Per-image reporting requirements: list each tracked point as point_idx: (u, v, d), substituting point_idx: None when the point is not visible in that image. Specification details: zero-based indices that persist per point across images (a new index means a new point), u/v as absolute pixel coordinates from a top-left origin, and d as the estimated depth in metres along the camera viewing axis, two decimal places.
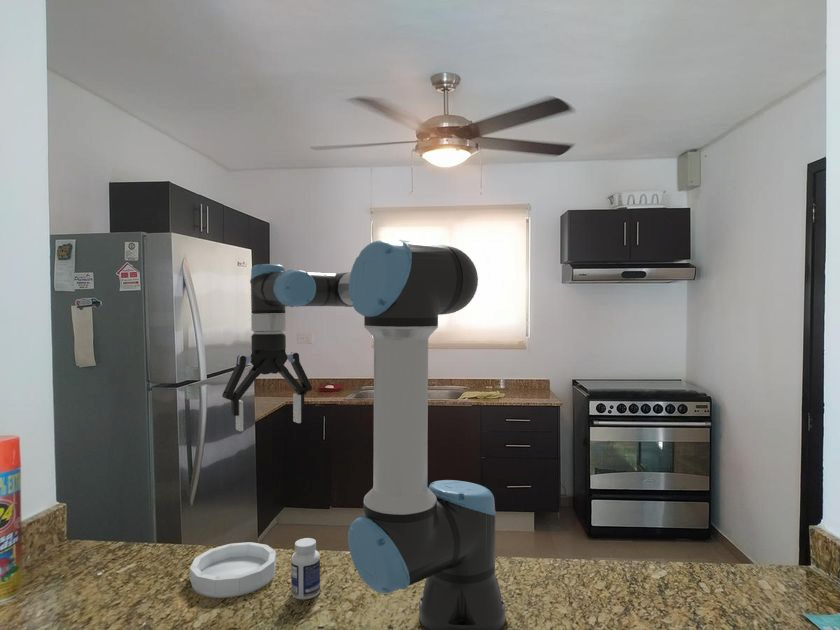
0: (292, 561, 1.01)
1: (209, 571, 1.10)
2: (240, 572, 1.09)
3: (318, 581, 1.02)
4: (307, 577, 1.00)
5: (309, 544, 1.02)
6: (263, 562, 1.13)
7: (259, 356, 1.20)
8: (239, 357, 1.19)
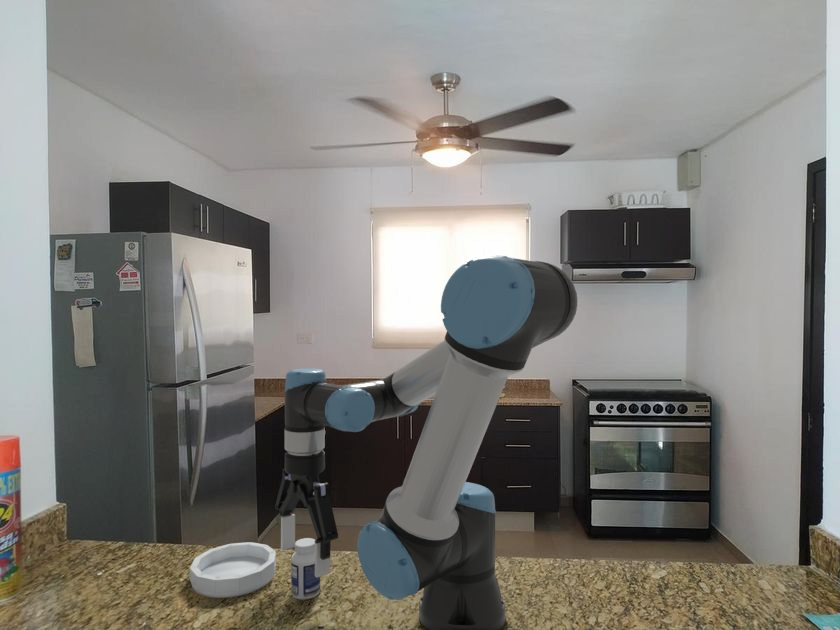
0: (292, 561, 1.01)
1: (209, 571, 1.10)
2: (240, 572, 1.09)
3: (318, 581, 1.02)
4: (307, 577, 1.00)
5: (309, 544, 1.02)
6: (263, 562, 1.13)
7: (293, 475, 1.04)
8: None
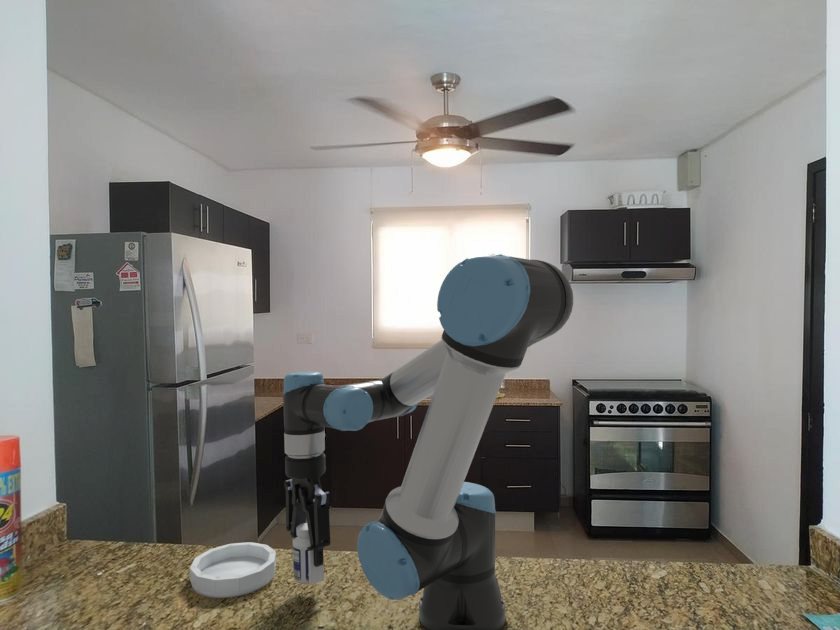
0: (294, 545, 1.01)
1: (209, 571, 1.10)
2: (240, 572, 1.09)
3: None
4: None
5: None
6: (263, 562, 1.13)
7: None
8: None
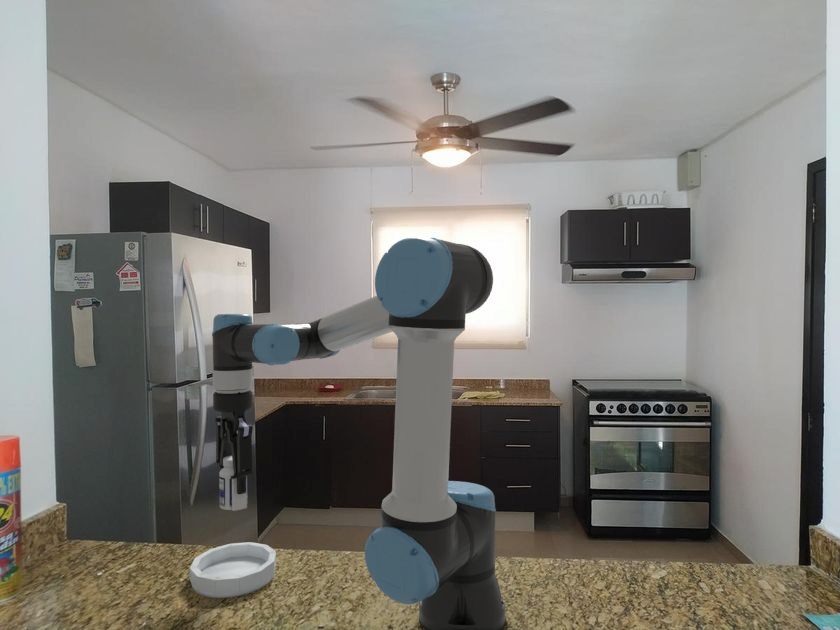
0: (220, 474, 1.08)
1: (209, 571, 1.10)
2: (240, 572, 1.09)
3: None
4: None
5: None
6: (263, 562, 1.13)
7: (222, 413, 1.10)
8: None
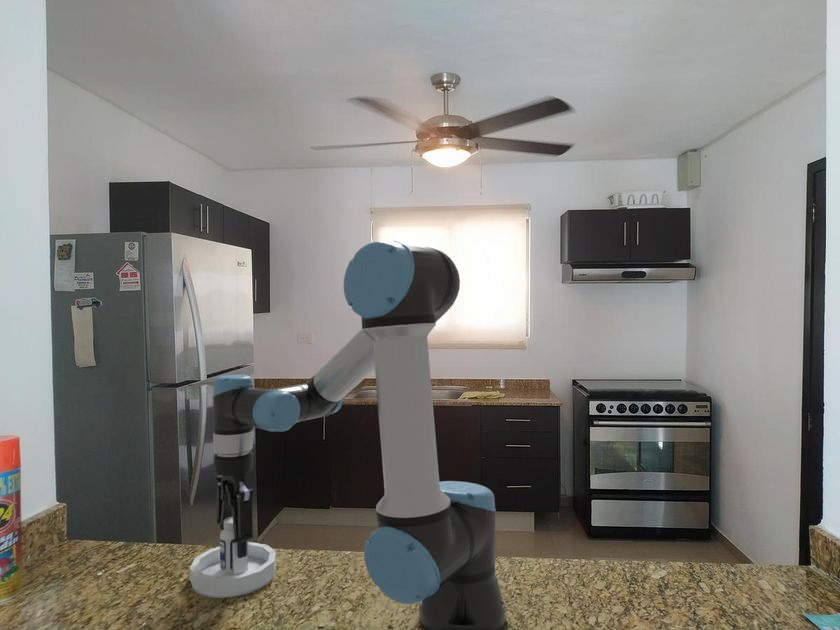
0: (220, 537, 1.08)
1: (209, 571, 1.10)
2: None
3: None
4: None
5: None
6: (263, 562, 1.13)
7: None
8: None
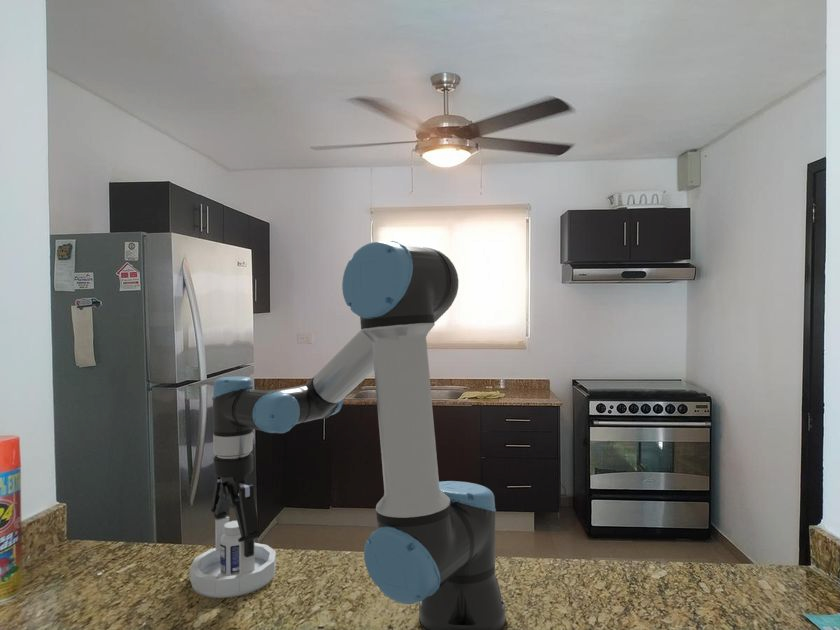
0: (220, 542, 1.08)
1: (209, 571, 1.10)
2: None
3: None
4: (234, 556, 1.07)
5: (236, 526, 1.08)
6: (263, 562, 1.13)
7: None
8: None
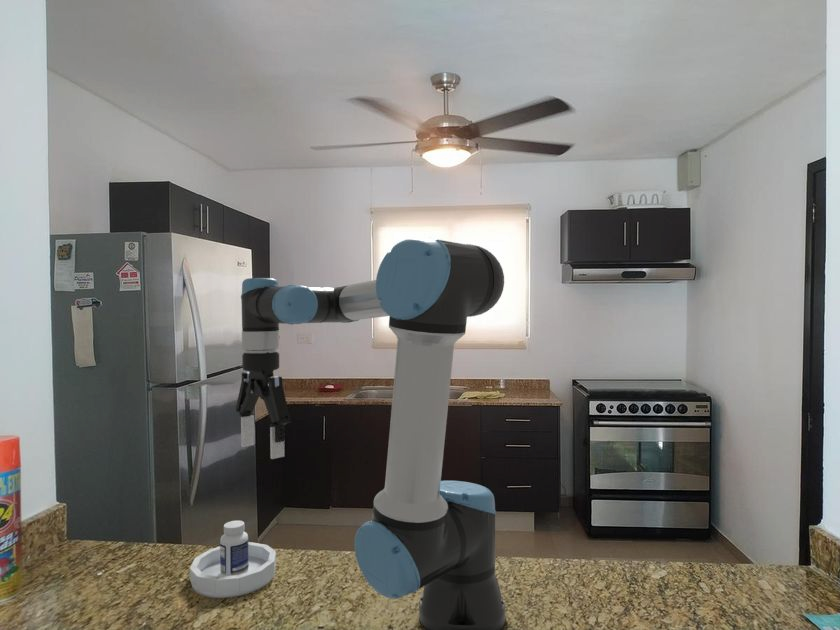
0: (220, 542, 1.08)
1: (209, 571, 1.10)
2: None
3: (246, 560, 1.08)
4: (234, 556, 1.07)
5: (236, 526, 1.08)
6: (263, 562, 1.13)
7: (250, 375, 1.16)
8: None
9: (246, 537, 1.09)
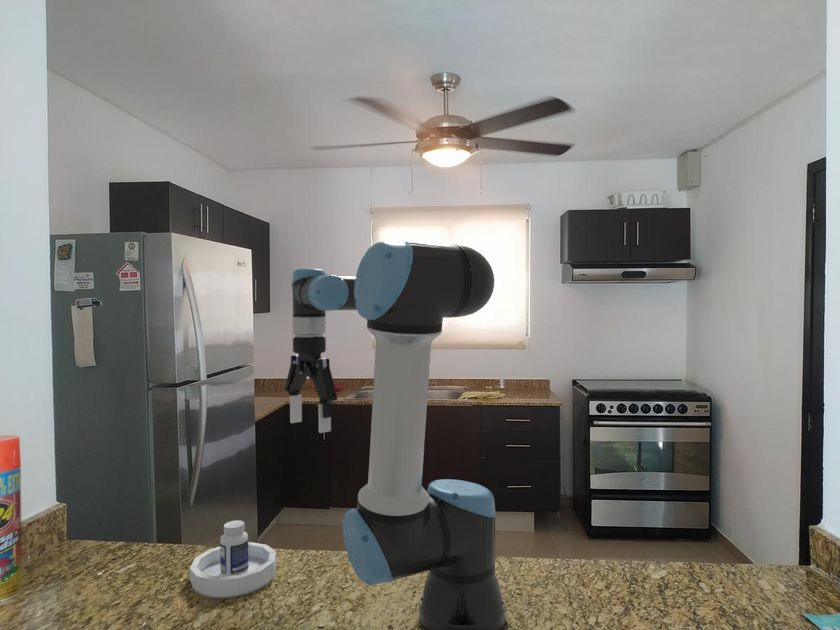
0: (220, 542, 1.08)
1: (209, 571, 1.10)
2: None
3: (246, 560, 1.08)
4: (234, 556, 1.07)
5: (236, 526, 1.08)
6: (263, 562, 1.13)
7: (299, 357, 1.27)
8: None
9: (246, 537, 1.09)
